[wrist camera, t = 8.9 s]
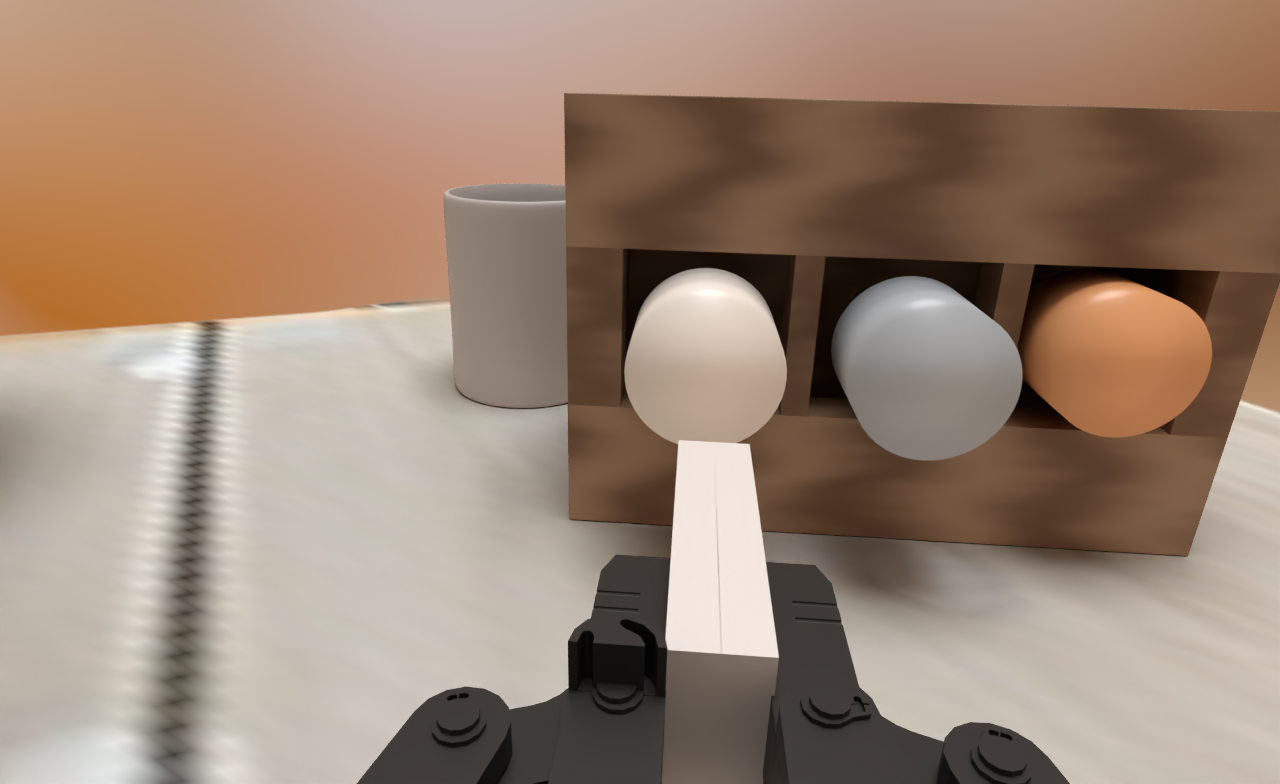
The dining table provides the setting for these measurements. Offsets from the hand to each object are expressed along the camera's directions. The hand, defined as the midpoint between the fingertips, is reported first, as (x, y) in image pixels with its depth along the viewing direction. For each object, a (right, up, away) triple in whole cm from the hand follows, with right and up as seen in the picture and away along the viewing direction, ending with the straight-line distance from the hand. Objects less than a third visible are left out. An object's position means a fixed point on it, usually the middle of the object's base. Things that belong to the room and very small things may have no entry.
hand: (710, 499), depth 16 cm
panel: (+8, -2, +18) cm, 20 cm away
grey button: (+8, +2, +11) cm, 14 cm away
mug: (-8, +3, +31) cm, 32 cm away
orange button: (+15, +2, +13) cm, 20 cm away
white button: (+1, +2, +12) cm, 12 cm away
